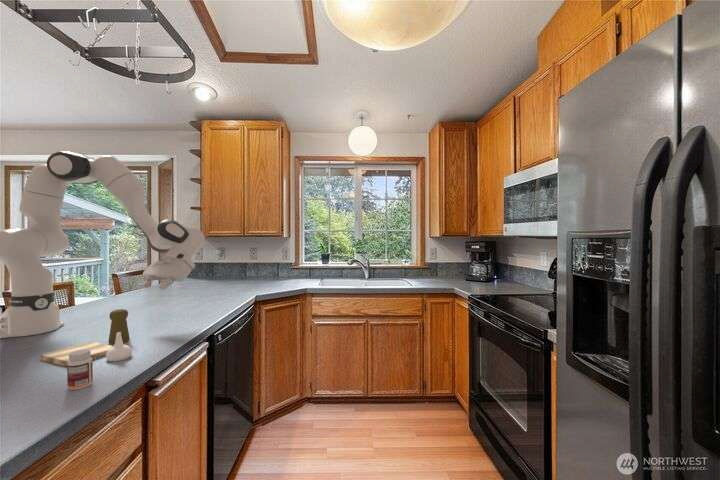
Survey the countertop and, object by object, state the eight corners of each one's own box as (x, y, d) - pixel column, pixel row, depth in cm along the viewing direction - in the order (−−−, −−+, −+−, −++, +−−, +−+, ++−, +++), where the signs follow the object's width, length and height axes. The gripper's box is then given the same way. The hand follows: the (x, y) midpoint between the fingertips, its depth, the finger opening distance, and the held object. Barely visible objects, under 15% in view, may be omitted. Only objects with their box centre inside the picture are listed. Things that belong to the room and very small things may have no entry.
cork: (118, 344, 110) (118, 312, 109) (103, 343, 111) (103, 311, 111) (134, 339, 116) (133, 308, 115) (119, 338, 117) (119, 307, 117)
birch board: (40, 359, 97) (40, 354, 97) (90, 345, 109) (90, 341, 109) (68, 367, 91) (68, 361, 91) (118, 351, 103) (117, 346, 103)
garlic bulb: (110, 357, 100) (107, 332, 100) (134, 353, 102) (131, 327, 102) (103, 365, 94) (100, 338, 94) (129, 360, 97) (126, 333, 96)
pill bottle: (77, 381, 82) (76, 348, 82) (97, 381, 83) (97, 348, 83) (61, 390, 78) (61, 355, 78) (83, 390, 78) (82, 355, 78)
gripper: (152, 254, 135) (128, 281, 126) (188, 255, 127) (166, 284, 118) (163, 264, 139) (140, 291, 130) (198, 266, 131) (177, 294, 122)
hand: (153, 288), depth 124 cm, fingers open, 8 cm apart
